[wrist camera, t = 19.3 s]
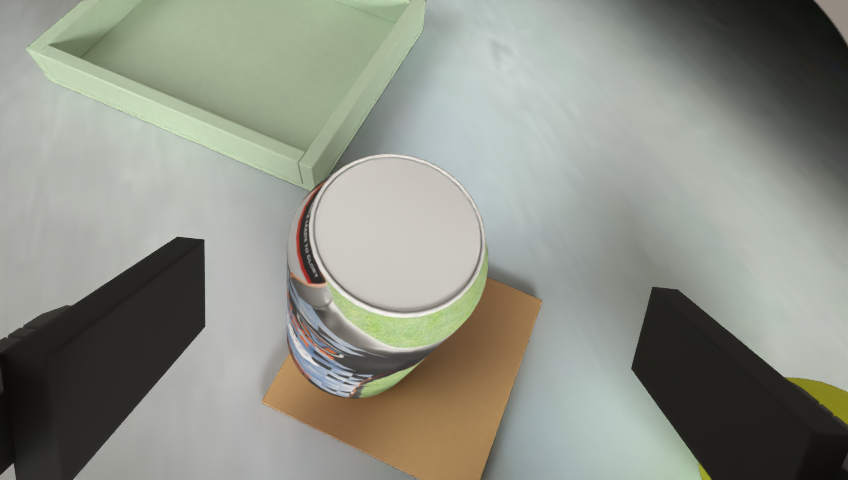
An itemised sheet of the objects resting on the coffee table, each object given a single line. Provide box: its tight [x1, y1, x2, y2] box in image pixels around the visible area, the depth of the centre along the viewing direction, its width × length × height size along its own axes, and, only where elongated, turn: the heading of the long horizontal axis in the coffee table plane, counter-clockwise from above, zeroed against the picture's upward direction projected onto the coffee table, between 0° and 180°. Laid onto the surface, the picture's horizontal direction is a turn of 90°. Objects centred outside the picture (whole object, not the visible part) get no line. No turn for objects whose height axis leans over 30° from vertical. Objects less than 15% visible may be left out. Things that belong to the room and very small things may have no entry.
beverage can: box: [287, 154, 488, 399], centre depth 19 cm, size 6×7×12 cm
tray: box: [26, 0, 426, 191], centre depth 32 cm, size 18×15×2 cm
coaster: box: [262, 277, 542, 480], centre depth 25 cm, size 10×10×1 cm
